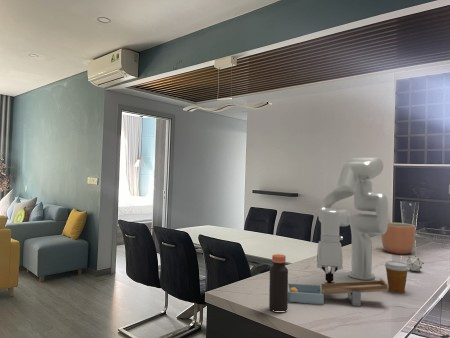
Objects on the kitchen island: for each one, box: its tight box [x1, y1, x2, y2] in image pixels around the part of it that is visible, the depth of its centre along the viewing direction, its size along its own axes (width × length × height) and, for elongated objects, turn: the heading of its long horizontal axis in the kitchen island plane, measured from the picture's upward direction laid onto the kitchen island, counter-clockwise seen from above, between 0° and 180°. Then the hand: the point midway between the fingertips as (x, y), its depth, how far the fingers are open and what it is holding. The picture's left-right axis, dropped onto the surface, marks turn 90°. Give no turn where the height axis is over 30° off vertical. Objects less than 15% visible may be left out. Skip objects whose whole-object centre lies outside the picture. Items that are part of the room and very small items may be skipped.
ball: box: [290, 287, 298, 292], centre depth 140 cm, size 4×4×4 cm
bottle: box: [268, 253, 289, 312], centre depth 127 cm, size 7×7×20 cm
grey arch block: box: [347, 291, 362, 307], centre depth 136 cm, size 9×3×6 cm, turn 172°
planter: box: [381, 221, 416, 255], centre depth 231 cm, size 21×21×19 cm
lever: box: [320, 278, 389, 295], centre depth 139 cm, size 13×24×4 cm, turn 82°
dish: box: [288, 282, 325, 306], centre depth 139 cm, size 12×14×4 cm
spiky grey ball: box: [406, 255, 425, 272], centre depth 183 cm, size 9×8×10 cm
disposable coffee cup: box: [384, 260, 410, 294], centre depth 151 cm, size 10×10×12 cm
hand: (329, 282), depth 145 cm, fingers closed
